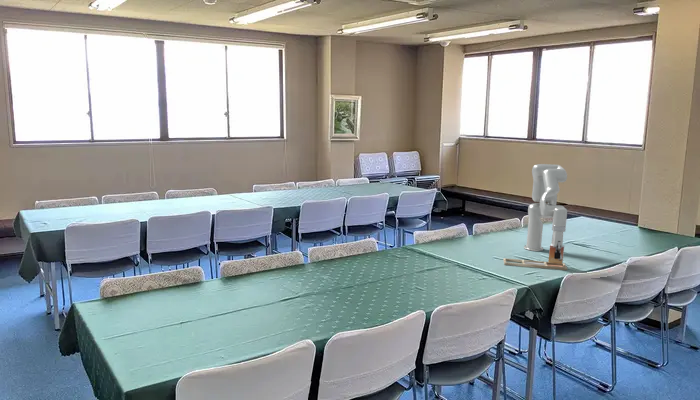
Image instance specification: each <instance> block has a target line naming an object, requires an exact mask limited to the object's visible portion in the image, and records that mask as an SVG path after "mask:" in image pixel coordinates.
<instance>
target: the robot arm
mask: <svg viewBox="0 0 700 400" xmlns="http://www.w3.org/2000/svg"><path fill="white" fill-rule="evenodd" d="M531 169H532V170H531V175H532V180H533V181H532V182H533V183H532V191H531V199H532V201H533V202H535V203H531V204H529V205H528V207H527V208H528V209H527V215H528V225H527V236H526V245H525V244H524V246H523V249H525V250H528V251H530V252H531V251H533V252H541V251H543V250H544V247H542V241H543V227H544V224H543V222H542V220H541V218H544V219H551V218H552V224H551V225H552V227H551V230H552V236H551V243H550V245H551V244H552V245H553V247H555V255H554V258H555V259H560V254H561V248H562V245H564V244H563V242H564V233H565V232H566V229H567V228H566V227H567V217H568V209H567V208H565V206H563V205H557V202H558V194H559V193H560V190H561V189H560V186H559V185H560V183H564V182H567V179H568V173H567V171H566V169H565V168H564V167H563V166H562V165H560V164H549V163H548V164H547V163H539V164H534V165H533V166H532V168H531ZM536 202H537V203H536ZM556 246H558V247H556ZM557 248H558V249H557Z"/></svg>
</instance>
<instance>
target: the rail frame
mask: <svg viewBox="0 0 700 400" xmlns="http://www.w3.org/2000/svg"><path fill="white" fill-rule="evenodd" d="M502 259H503V265H504V266H512V267H522V268H523V267H526V268H538V269H548V270H549V269H550V270H558V269H559V270H560V271H561V270H562V271H568V267H567V265H566V263H565V262H563V263H562V264H558V263H552V262H548V261H541V260H540V261H539V260H528V259H517V258H507V257H505V258H502Z"/></svg>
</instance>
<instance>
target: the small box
mask: <svg viewBox="0 0 700 400" xmlns="http://www.w3.org/2000/svg"><path fill="white" fill-rule="evenodd" d="M556 247H558V246H556ZM557 249H558V248H557ZM564 252H565V245H564V244H562V248H561V254H560V259H555V258H554V255H555V247H553V245H552V244H551V243H550V244H549V252H548V261H547V262H552V263H558V264H562V263H564V255H565V253H564Z"/></svg>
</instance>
